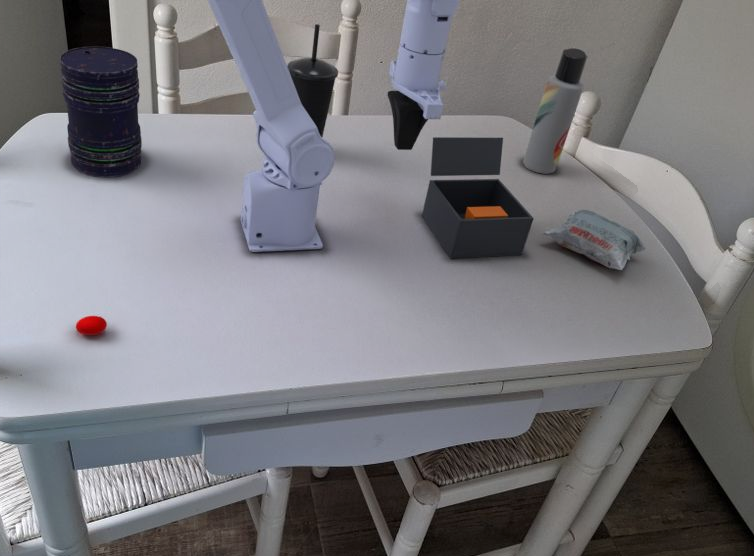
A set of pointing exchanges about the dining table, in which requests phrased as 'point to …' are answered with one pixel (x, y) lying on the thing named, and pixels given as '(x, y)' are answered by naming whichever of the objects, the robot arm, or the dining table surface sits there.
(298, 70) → the drinking cup
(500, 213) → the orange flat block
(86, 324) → the candy
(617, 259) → the packaged food
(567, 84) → the lotion bottle
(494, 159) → the bin flap
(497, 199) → the bin
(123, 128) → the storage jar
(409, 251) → the dining table surface
